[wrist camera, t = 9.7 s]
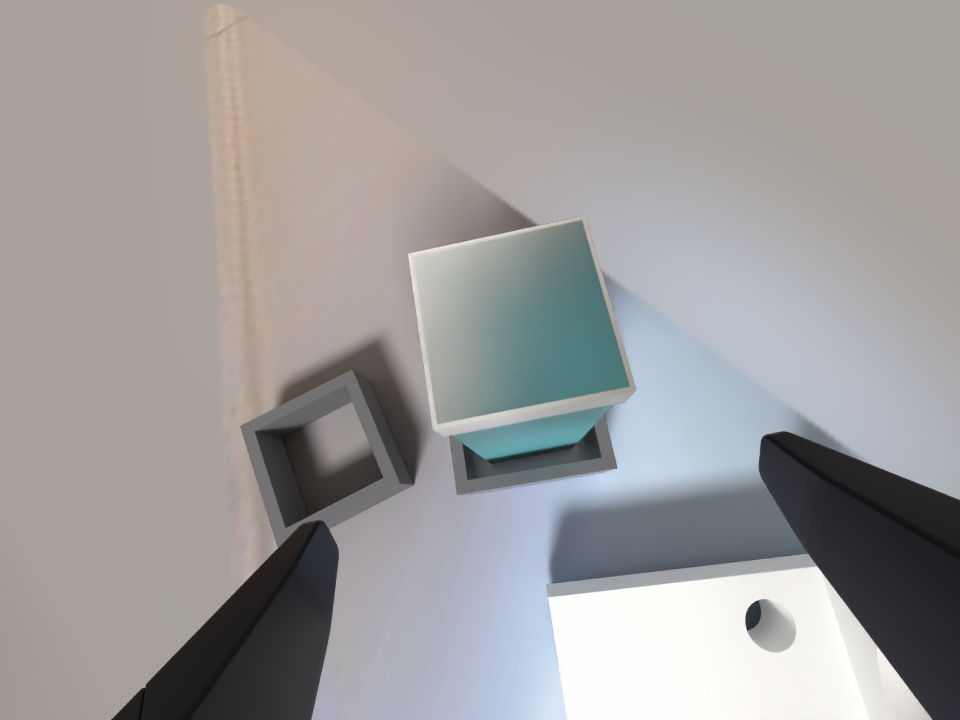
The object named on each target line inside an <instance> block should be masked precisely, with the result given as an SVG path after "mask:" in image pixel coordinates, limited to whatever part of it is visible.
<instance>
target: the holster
mask: <svg viewBox="0 0 960 720" xmlns="http://www.w3.org/2000/svg"><path fill="white" fill-rule="evenodd" d="M350 402H353V404H354V407H355V409H356V412H357V414H358V416H359V419H360V421H361V424H362V426H363V429H364V431H365V434H366V436H367V439H368V441H369V444H370V446H371V448H372V451H373V453H374V456H375V458H376V461H377V463H378V466H379V468H380V471H381V473H382V476H383V478H382V479H380V480H378V481H376V482H374V483H372V484H370V485H369V486H367V487H365V488H363V489H361V490H359V491H357V492H355V493H353V494H351V495H349V496H347V497H345V498H343V499H342V500H340V501H338V502H336V503H334V504H332V505H330V506H328V507H326V508H324V509H322V510H320V511H318V512H316V513H314V514H313V515H311V516H308V513H307V510H306V507H305V504H304V501H303V498H302V495H301V492H300V490H299V487H298V484H297V481H296V478H295V475H294V472H293V469H292V466H291V463H290V460H289V457H288V454H287V451H286V448H285V445H284V443H283V440H282V437H283V436H285V435H287V434H289V433H291V432H293V431H295V430H297V429H299V428H301V427H303V426H305V425H307V424H309V423H311V422H313V421H315V420H317V419H319V418H321V417H323V416H325V415H327V414H329V413H330V412H332V411H334V410H336V409H338V408H340V407H342V406H344V405H346V404H348V403H350ZM240 428H241V431H242V434H243V437H244V440H245V444H246V447H247V450H248V453H249V456H250V460H251V463H252V466H253V469H254V473H255V476H256V479H257V482H258V485H259V489H260V492H261V495H262V498H263V502H264V505H265V508H266V511H267V514H268V518H269V521H270V524H271V527H272V531H273V534H274V537H275V540H276V543H277V547H280V546H281V544H282V543H283V542H284V541H285V540H286V539H287V538H288V537H289V536H290V535H291V534H292V533H293V532H294V531H295V530H296V529H297V528H298V527H299V526H300V525H301V524H303V523H305V522H310V521H315V520H322V521H324V522H325V523H326V525H327V527H328V529H330V528H332V527H334V526H336V525H337V524H339V523H341V522H343V521H345V520H347V519H349V518H351V517H353V516H355V515H357V514H359V513H361V512H362V511H364V510H366V509H368V508H370V507H372V506H374V505H376V504H378V503H380V502H382V501H384V500H386V499H387V498H389V497H391V496H393V495H395V494H397V493H399V492H401V491H403V490H405V489H407V488H409V487H411V486H413V485H414V484H413V482H412V479H411V477H410V475H409V472H408V470H407V468H406V465H405V463H404V461H403V458H402V456H401V454H400V451H399V449H398V447H397V444H396V442H395V440H394V437H393V435H392V432H391V430H390V428H389V425H388V423H387V421H386V418H385V416H384V414H383V411H382V409H381V407H380V404H379V402H378V400H377V397H376V395H375V393H374V390H373V388H372V386H371V383H370V381H369V380H367V379H366V378H364V377H363V376H361V375H360V374H358V373H357V372H356V371H354V370H353V369H352V370H350V371H348V372H346V373H344V374H342V375H340V376H338V377H336V378H334V379H332V380H330V381H328V382H326V383H324V384H322V385H320V386H318V387H316V388H314V389H312V390H310V391H308V392H306V393H304V394H302V395H300V396H298V397H296V398H294V399H292V400H290V401H288V402H286V403H284V404H282V405H281V406H279V407H277V408H275V409H273V410H271V411H269V412H267V413H265V414H263V415H261V416H259V417H257V418H255V419H253V420H251V421H249V422H247V423H245V424H243V425H241V426H240Z"/></svg>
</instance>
